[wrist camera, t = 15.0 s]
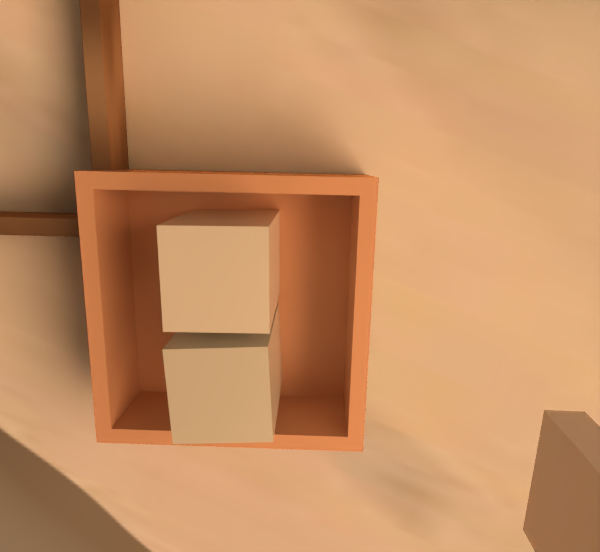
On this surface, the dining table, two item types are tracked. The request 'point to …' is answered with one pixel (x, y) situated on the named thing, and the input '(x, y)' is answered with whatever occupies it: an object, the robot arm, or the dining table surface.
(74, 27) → the dining table surface
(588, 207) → the dining table surface
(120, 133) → the tray
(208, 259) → the cream tall block
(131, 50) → the dining table surface
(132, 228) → the orange storage bin
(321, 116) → the dining table surface
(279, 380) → the beige rectangular block
